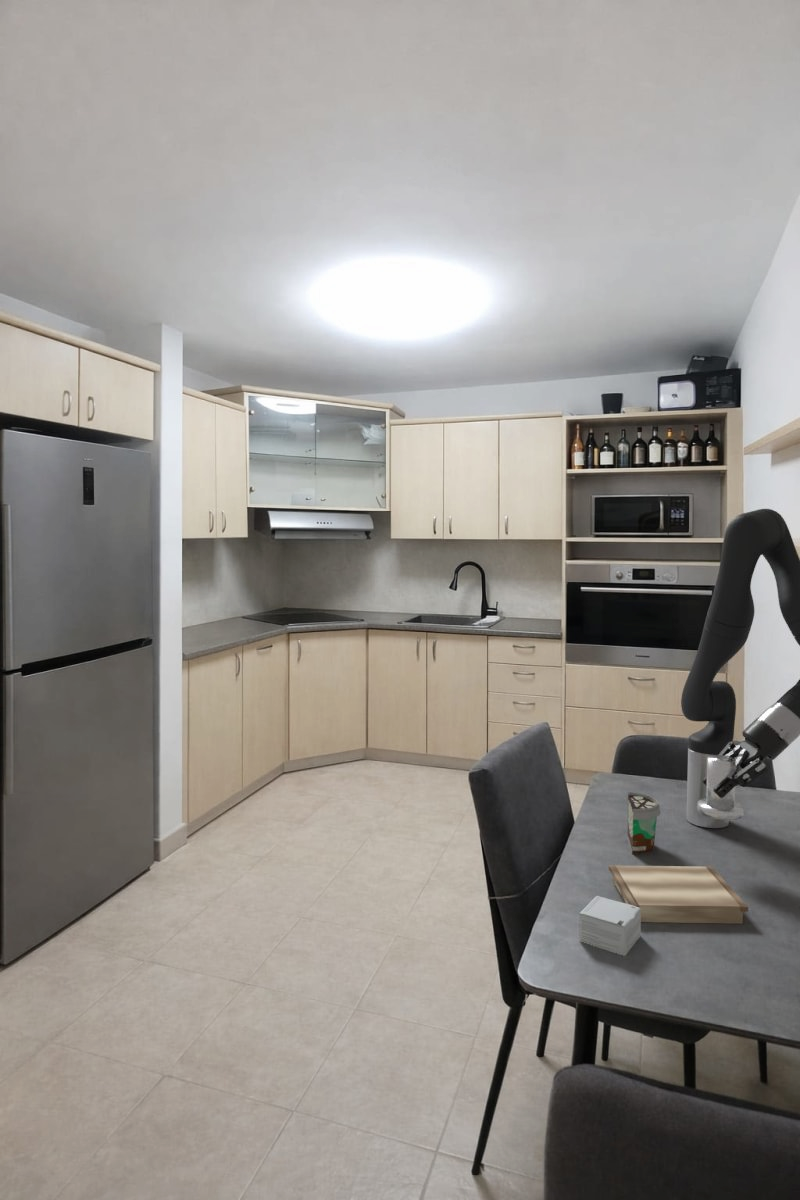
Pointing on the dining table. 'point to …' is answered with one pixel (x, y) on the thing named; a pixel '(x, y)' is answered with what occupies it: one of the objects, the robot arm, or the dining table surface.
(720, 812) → the bell jar
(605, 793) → the dining table surface
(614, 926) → the small box
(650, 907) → the stand
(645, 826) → the food container
